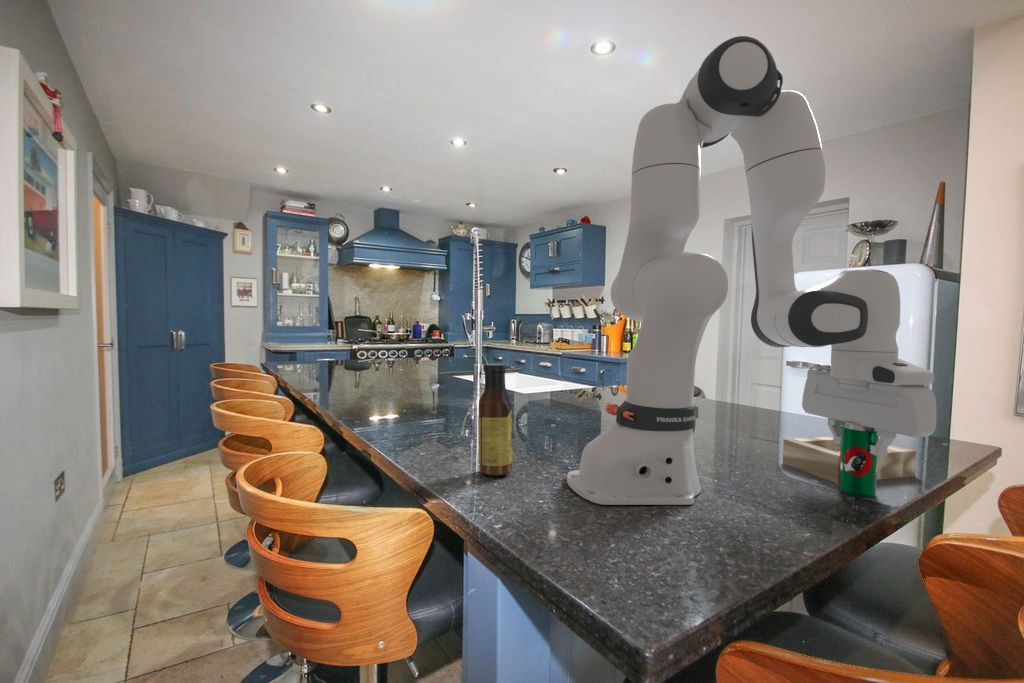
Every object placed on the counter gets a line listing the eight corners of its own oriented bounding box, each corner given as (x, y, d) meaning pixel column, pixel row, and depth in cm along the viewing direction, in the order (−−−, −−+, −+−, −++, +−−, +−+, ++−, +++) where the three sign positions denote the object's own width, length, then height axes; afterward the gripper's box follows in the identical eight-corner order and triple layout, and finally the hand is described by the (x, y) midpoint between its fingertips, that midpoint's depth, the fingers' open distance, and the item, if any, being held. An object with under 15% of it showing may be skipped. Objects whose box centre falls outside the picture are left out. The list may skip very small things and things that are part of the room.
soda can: (883, 499, 75) (887, 425, 75) (852, 498, 75) (855, 425, 75) (861, 488, 80) (864, 419, 80) (831, 487, 80) (834, 418, 80)
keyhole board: (836, 483, 82) (838, 455, 82) (782, 463, 94) (783, 439, 94) (914, 477, 87) (916, 450, 86) (853, 458, 98) (854, 435, 98)
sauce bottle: (518, 473, 85) (520, 365, 84) (489, 479, 81) (491, 366, 81) (499, 464, 90) (501, 362, 90) (471, 469, 87) (472, 363, 86)
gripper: (794, 362, 86) (791, 436, 87) (913, 375, 66) (908, 471, 67) (822, 362, 88) (819, 435, 88) (946, 374, 68) (941, 468, 68)
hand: (858, 451), depth 77 cm, fingers closed on soda can, 5 cm apart
